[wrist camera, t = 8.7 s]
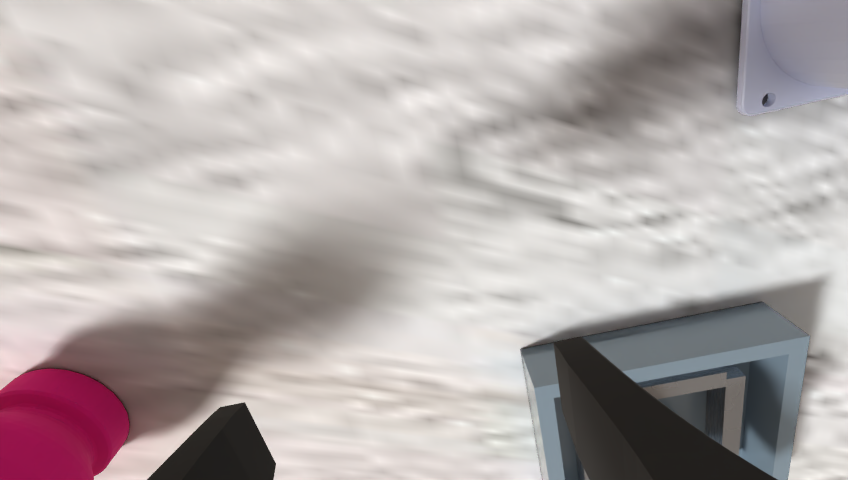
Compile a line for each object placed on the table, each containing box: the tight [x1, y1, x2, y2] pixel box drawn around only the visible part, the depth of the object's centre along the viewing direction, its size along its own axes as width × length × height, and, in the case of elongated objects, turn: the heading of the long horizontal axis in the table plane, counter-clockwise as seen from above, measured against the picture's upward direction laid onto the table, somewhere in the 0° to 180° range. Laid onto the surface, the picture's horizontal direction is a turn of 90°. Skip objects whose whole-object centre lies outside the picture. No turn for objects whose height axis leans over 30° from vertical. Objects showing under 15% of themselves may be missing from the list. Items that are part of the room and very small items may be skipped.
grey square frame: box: [575, 365, 746, 480], centre depth 23 cm, size 8×8×1 cm
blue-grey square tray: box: [520, 302, 810, 480], centre depth 23 cm, size 12×12×3 cm
